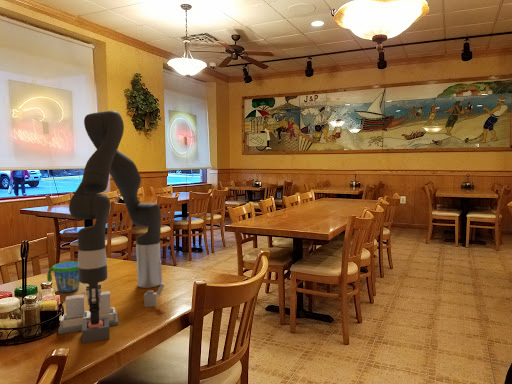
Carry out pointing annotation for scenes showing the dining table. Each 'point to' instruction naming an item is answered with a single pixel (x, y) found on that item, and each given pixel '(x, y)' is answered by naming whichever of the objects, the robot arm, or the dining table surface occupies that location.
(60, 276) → the snack cup
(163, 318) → the dining table surface
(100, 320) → the button
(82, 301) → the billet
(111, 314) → the grey slotted holder
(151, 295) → the lighter
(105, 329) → the button housing
